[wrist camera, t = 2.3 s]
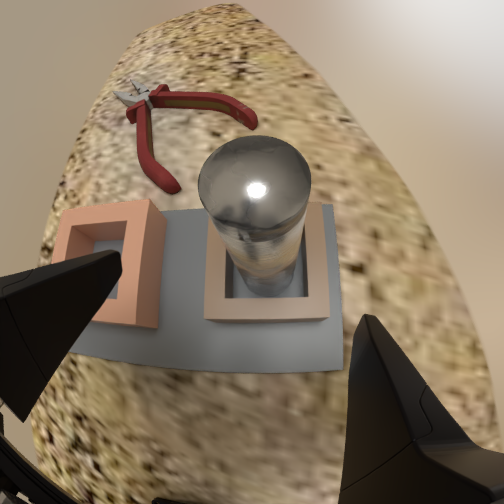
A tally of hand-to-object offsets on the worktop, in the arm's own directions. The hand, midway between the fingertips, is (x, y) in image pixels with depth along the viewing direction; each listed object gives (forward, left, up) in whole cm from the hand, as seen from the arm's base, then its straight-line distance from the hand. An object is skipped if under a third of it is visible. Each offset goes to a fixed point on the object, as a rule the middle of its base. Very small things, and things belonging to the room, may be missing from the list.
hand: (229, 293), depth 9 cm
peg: (+3, -1, -10) cm, 10 cm away
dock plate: (+2, +5, -11) cm, 12 cm away
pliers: (+21, +8, -12) cm, 26 cm away
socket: (+3, +11, -10) cm, 15 cm away
